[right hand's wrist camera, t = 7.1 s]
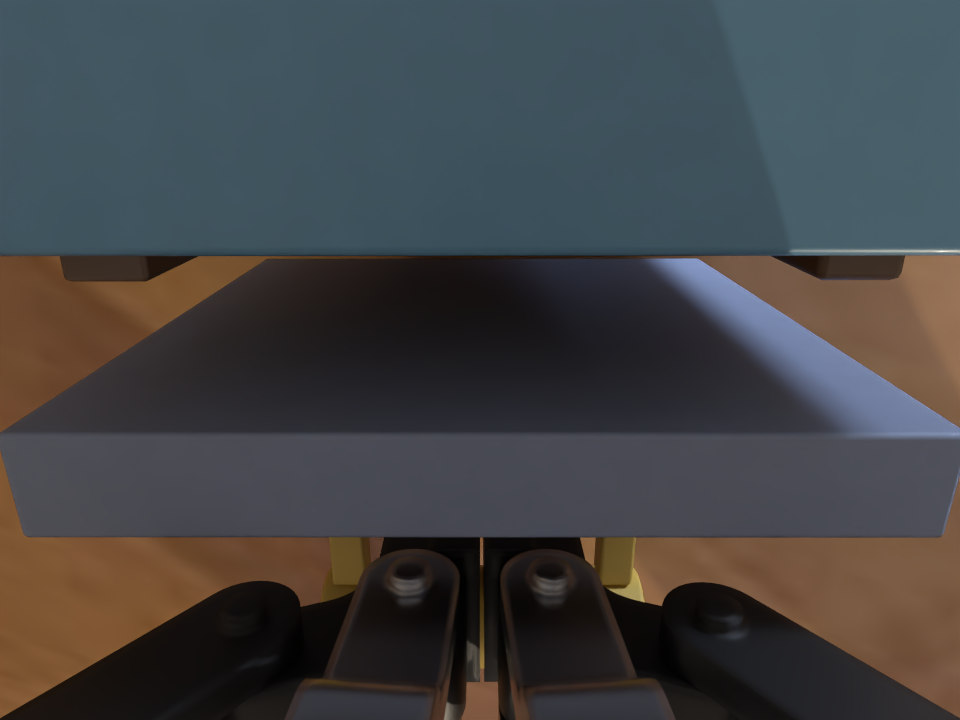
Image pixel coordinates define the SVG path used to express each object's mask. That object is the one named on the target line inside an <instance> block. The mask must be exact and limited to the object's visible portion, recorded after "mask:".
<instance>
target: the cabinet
mask: <svg viewBox="0 0 960 720" xmlns="http://www.w3.org/2000/svg"><path fill="white" fill-rule="evenodd" d="M796 255H960V0H0V256H796Z"/></svg>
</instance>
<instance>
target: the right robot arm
mask: <svg viewBox="0 0 960 720" xmlns="http://www.w3.org/2000/svg"><path fill="white" fill-rule="evenodd" d="M483 572H484V682H498V696H499V718H498V720H960V718H958V717H957V716H955V715H953V714H952V713H950V712H948V711H946V710H945V709H943V708H941V707H939V706H938V705H936V704H934V703H933V702H931V701H929V700H927V699H926V698H924V697H922V696H921V695H919V694H917V693H915V692H914V691H912V690H910V689H908V688H907V687H905V686H903V685H902V684H900V683H898V682H896V681H895V680H893V679H891V678H890V677H888V676H886V675H884V674H883V673H881V672H879V671H878V670H876V669H874V668H872V667H871V666H869V665H867V664H865V663H864V662H862V661H860V660H859V659H857V658H855V657H853V656H852V655H850V654H848V653H847V652H845V651H843V650H841V649H840V648H838V647H836V646H834V645H833V644H831V643H829V642H828V641H826V640H824V639H822V638H821V637H819V636H817V635H816V634H814V633H812V632H810V631H809V630H807V629H805V628H804V627H802V626H800V625H798V624H797V623H795V622H793V621H791V620H790V619H788V618H786V617H785V616H783V615H781V614H779V613H778V612H776V611H774V610H773V609H771V608H769V607H767V606H766V605H764V604H762V603H760V602H759V601H757V600H755V599H754V598H752V597H750V596H748V595H747V594H745V593H743V592H741V591H738V590H736V589H733V588H731V587H728V586H724V585H720V584H715V583H705V582H698V583H689V584H684V585H681V586H679V587H677V588H675V589H673V590H672V591H671V592H669V593H668V594H667V596H666V597H665V599H664V601H663V604H662V606H658V605H654V604H650V603H645V602H641V601H637V600H633V599H630V598H626V597H624V596H621V595H619V594H617V593H615V592H613V591H611V590H609V589H607V588H606V587H604V586H603V585H602V582H601V579H600V577H599V575H598V573H597V571H596V570H595V569H594V567H593V566H592V565H591V564H589V563H588V562H587V561H585V557H584V553H583V549H582V544H581V540H580V537H483ZM466 682H480V537H384V541H383V545H382V550H381V554H380V557H379V558H378V559H376V560H375V561H373V562H372V563H371V564H369V565H368V566H367V567H366V569H365V570H364V571H363V573H362V575H361V577H360V579H359V582H358V585H357V587H356V590H354V591H352V592H351V593H349V594H347V595H344V596H342V597H339V598H336V599H332V600H329V601H325V602H320V603H316V604H312V605H307V606H303V607H300V601H299V599H298V596H297V595H296V594H295V592H294V591H292V590H291V589H290V588H288V587H287V586H285V585H282V584H279V583H276V582H270V581H252V582H245V583H240V584H237V585H233V586H230V587H228V588H225V589H223V590H221V591H219V592H217V593H215V594H213V595H212V596H210V597H208V598H206V599H205V600H203V601H201V602H200V603H198V604H196V605H194V606H193V607H191V608H189V609H187V610H186V611H184V612H182V613H181V614H179V615H177V616H175V617H174V618H172V619H170V620H169V621H167V622H165V623H163V624H162V625H160V626H158V627H157V628H155V629H153V630H151V631H150V632H148V633H146V634H144V635H143V636H141V637H139V638H138V639H136V640H134V641H132V642H131V643H129V644H127V645H126V646H124V647H122V648H120V649H119V650H117V651H115V652H113V653H112V654H110V655H108V656H107V657H105V658H103V659H101V660H100V661H98V662H96V663H95V664H93V665H91V666H89V667H88V668H86V669H84V670H83V671H81V672H79V673H77V674H76V675H74V676H72V677H70V678H69V679H67V680H65V681H64V682H62V683H60V684H58V685H57V686H55V687H53V688H52V689H50V690H48V691H46V692H45V693H43V694H41V695H39V696H38V697H36V698H34V699H33V700H31V701H29V702H27V703H26V704H24V705H22V706H21V707H19V708H17V709H15V710H14V711H12V712H10V713H9V714H7V715H5V716H3V717H2V718H0V720H462V718H461V717H462V715H463V712H464V709H465V704H466Z"/></svg>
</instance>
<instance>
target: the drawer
mask: <svg viewBox="0 0 960 720" xmlns="http://www.w3.org/2000/svg"><path fill="white" fill-rule="evenodd" d="M195 257H197V256H60V259H61V264H62V269H63V273H64V277H65V279H66V280H69V281H148V280H150V279H152V278H154V277H156V276H158V275H160V274H162V273H164V272H166V271H169V270H171V269H173V268H175V267H177V266H179V265H181V264H183V263H185V262H187V261H189V260H191V259H193V258H195ZM772 257H774V258H776V259H778V260H780V261H783V262H785V263H787V264H789V265H791V266H793V267H795V268H797V269H799V270H802V271H804V272H806V273H808V274H810V275H812V276H814V277H816V278H819V279H821V280H891V279H894V278H898V277H899V275H900V274H901V272H902V267H903V263H904V258H905V255H796V256H772ZM0 450H1V454H2V458H3V461H4V465H5V468H6V472H7V476H8V479H9V483H10V487H11V490H12V494H13V497H14V501H15V505H16V508H17V512H18V516H19V519H20V523H21V526H22V530H23V533H24V535H25V536H27V537H329V544H330V554H331V565H332V567H331V568H330V570H329V571H328V574H327V576H326V579H325V582H324V585H323V590H322V595H321V601H320V602H325V601H329V600H332V599H336V598H339V597H342V596H344V595H347V594H349V593H351V592H352V591H354V590H356V587H357V585H358V582H359V579H360V577H361V575H362V573H363V571H364V570H365V569H366V567H367V566H368V565H369V564H371V560H370V545H369V537H596V543H595V558H594V565H592V566H593V567H594V569H595V570H596V571H597V573H598V575H599V577H600V579H601V582H602V585H603V586H604V587H606V588H607V589H609V590H611V591H613V592H615V593H617V594H619V595H621V596H624V597H626V598H630V599H633V600H637V601H641V602H645V601H644V595H643V590H642V586H641V582H640V579H639V576H638V574H637V572H636V570H635V569H634V568H633V564H634V553H635V542H636V537H941V536H942V535H943V534H944V531H945V527H946V523H947V520H948V516H949V512H950V509H951V505H952V502H953V498H954V494H955V491H956V487H957V484H958V480H959V476H960V428H959V427H957V426H956V425H954V424H953V423H951V422H950V421H948V420H947V419H945V418H943V417H942V416H940V415H939V414H937V413H936V412H934V411H933V410H931V409H930V408H928V407H926V406H925V405H923V404H922V403H920V402H919V401H917V400H916V399H914V398H913V397H911V396H909V395H908V394H906V393H905V392H903V391H902V390H900V389H899V388H897V387H896V386H894V385H892V384H891V383H889V382H888V381H886V380H885V379H883V378H882V377H880V376H879V375H877V374H875V373H874V372H872V371H871V370H869V369H868V368H866V367H865V366H863V365H862V364H860V363H858V362H857V361H855V360H854V359H852V358H851V357H849V356H848V355H846V354H845V353H843V352H841V351H840V350H838V349H837V348H835V347H834V346H832V345H831V344H829V343H828V342H826V341H824V340H823V339H821V338H820V337H818V336H817V335H815V334H814V333H812V332H810V331H809V330H807V329H806V328H804V327H803V326H801V325H800V324H798V323H797V322H795V321H793V320H792V319H790V318H789V317H787V316H786V315H784V314H783V313H781V312H780V311H778V310H776V309H775V308H773V307H772V306H770V305H769V304H767V303H766V302H764V301H763V300H761V299H759V298H758V297H756V296H755V295H753V294H752V293H750V292H749V291H747V290H746V289H744V288H742V287H741V286H739V285H738V284H736V283H735V282H733V281H732V280H730V279H729V278H727V277H725V276H724V275H722V274H721V273H719V272H718V271H716V270H715V269H713V268H712V267H710V266H708V265H707V264H705V263H704V262H702V261H701V260H699V259H266V260H265V261H263V262H262V263H260V264H259V265H257V266H255V267H254V268H252V269H251V270H249V271H248V272H246V273H245V274H243V275H242V276H240V277H239V278H237V279H235V280H234V281H232V282H231V283H229V284H228V285H226V286H225V287H223V288H222V289H220V290H219V291H217V292H216V293H214V294H212V295H211V296H209V297H208V298H206V299H205V300H203V301H202V302H200V303H199V304H197V305H196V306H194V307H192V308H191V309H189V310H188V311H186V312H185V313H183V314H182V315H180V316H179V317H177V318H176V319H174V320H173V321H171V322H169V323H168V324H166V325H165V326H163V327H162V328H160V329H159V330H157V331H156V332H154V333H153V334H151V335H150V336H148V337H146V338H145V339H143V340H142V341H140V342H139V343H137V344H136V345H134V346H133V347H131V348H130V349H128V350H126V351H125V352H123V353H122V354H120V355H119V356H117V357H116V358H114V359H113V360H111V361H110V362H108V363H107V364H105V365H103V366H102V367H100V368H99V369H97V370H96V371H94V372H93V373H91V374H90V375H88V376H87V377H85V378H83V379H82V380H80V381H79V382H77V383H76V384H74V385H73V386H71V387H70V388H68V389H67V390H65V391H64V392H62V393H60V394H59V395H57V396H56V397H54V398H53V399H51V400H50V401H48V402H47V403H45V404H44V405H42V406H40V407H39V408H37V409H36V410H34V411H33V412H31V413H30V414H28V415H27V416H25V417H24V418H22V419H21V420H19V421H17V422H16V423H14V424H13V425H11V426H10V427H8V428H7V429H5V430H4V431H2V432H1V433H0ZM480 668H484V572H483V565H480Z"/></svg>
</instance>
